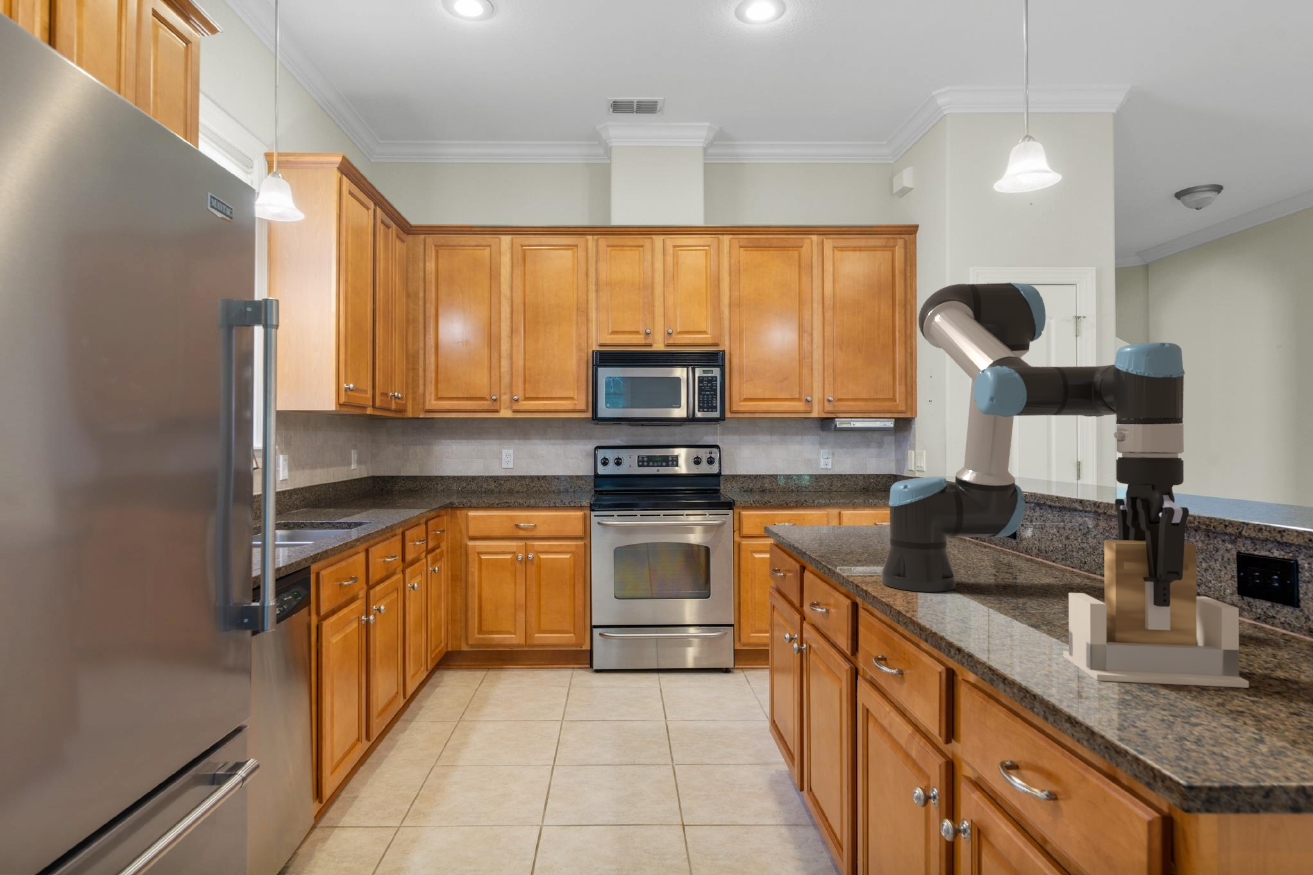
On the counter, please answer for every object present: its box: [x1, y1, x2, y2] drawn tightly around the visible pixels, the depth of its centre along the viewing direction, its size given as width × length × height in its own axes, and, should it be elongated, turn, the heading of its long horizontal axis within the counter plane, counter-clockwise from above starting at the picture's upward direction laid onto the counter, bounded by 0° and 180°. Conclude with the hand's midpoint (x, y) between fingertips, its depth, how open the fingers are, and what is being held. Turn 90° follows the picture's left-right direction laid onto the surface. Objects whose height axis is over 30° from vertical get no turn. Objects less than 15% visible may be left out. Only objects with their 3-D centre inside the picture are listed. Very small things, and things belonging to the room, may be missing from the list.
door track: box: [1062, 592, 1250, 689], centre depth 93 cm, size 10×18×10 cm, turn 81°
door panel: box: [1103, 539, 1197, 646], centre depth 93 cm, size 3×10×14 cm, turn 81°
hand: (1149, 624), depth 93 cm, fingers closed on door panel, 3 cm apart
